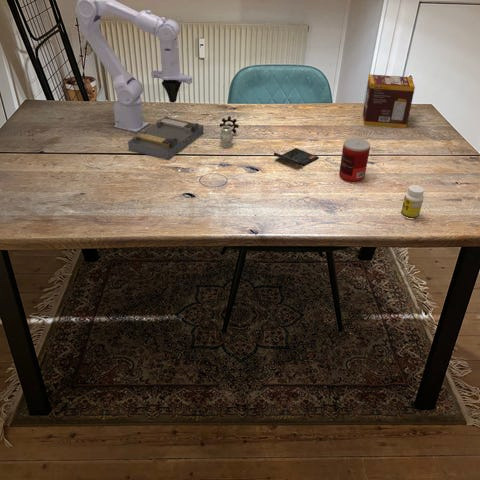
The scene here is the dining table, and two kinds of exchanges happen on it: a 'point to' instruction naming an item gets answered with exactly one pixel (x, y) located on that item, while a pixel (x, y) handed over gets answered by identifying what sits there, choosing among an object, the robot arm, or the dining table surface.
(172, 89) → the robot arm
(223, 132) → the valve
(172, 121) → the steel strap
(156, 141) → the brass strap
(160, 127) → the grey flat block
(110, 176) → the dining table surface
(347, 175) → the canned food
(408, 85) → the supplement box
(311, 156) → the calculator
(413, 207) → the supplement bottle
